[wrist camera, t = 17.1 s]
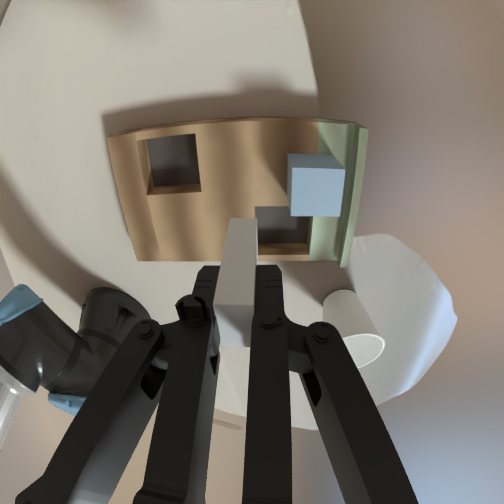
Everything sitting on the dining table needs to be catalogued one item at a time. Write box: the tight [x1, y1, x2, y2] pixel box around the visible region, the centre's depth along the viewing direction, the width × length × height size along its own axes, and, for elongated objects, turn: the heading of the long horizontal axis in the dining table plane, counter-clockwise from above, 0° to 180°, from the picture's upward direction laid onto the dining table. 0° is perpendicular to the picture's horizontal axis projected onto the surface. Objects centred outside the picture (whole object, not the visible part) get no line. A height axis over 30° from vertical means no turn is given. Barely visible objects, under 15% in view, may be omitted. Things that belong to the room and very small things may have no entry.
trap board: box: [107, 117, 368, 268], centre depth 32 cm, size 29×18×4 cm, turn 92°
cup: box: [323, 290, 385, 368], centre depth 40 cm, size 10×10×11 cm
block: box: [287, 153, 345, 217], centre depth 27 cm, size 5×5×5 cm
